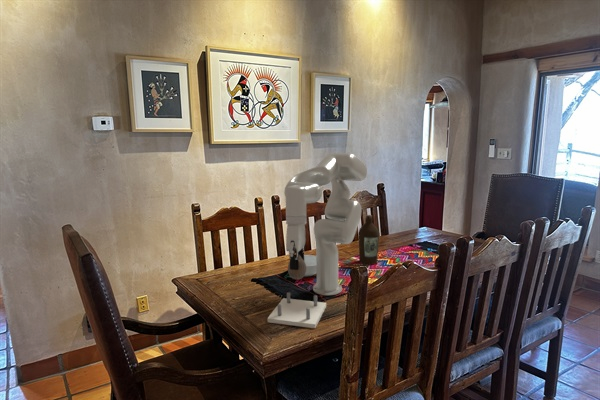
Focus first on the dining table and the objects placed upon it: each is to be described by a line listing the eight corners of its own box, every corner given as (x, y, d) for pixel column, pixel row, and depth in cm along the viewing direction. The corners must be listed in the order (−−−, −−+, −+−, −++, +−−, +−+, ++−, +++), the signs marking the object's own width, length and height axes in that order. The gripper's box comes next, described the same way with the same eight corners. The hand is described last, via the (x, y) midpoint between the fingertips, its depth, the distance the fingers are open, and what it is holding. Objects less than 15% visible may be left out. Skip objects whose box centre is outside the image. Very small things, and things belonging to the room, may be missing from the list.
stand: (283, 301, 161) (282, 288, 160) (326, 306, 156) (326, 293, 155) (267, 322, 144) (267, 308, 143) (315, 328, 139) (315, 313, 138)
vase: (306, 273, 151) (305, 252, 150) (306, 280, 144) (306, 258, 143) (288, 274, 151) (287, 252, 149) (288, 281, 144) (287, 258, 143)
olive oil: (355, 259, 212) (356, 213, 207) (374, 258, 213) (375, 212, 209) (361, 265, 201) (362, 218, 197) (381, 264, 203) (382, 217, 198)
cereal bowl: (321, 281, 182) (321, 266, 181) (286, 278, 186) (285, 264, 184) (326, 268, 199) (326, 255, 197) (294, 266, 202) (293, 253, 201)
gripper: (293, 213, 153) (294, 257, 156) (278, 224, 136) (280, 273, 140) (312, 214, 151) (312, 259, 154) (299, 225, 134) (300, 275, 138)
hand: (297, 265), depth 147 cm, fingers closed on vase, 6 cm apart
